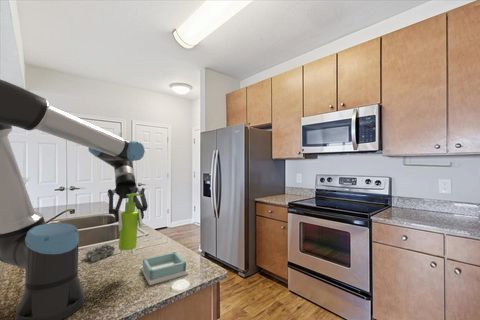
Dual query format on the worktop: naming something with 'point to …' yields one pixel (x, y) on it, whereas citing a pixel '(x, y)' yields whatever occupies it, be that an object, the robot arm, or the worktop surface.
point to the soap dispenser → (129, 225)
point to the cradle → (163, 268)
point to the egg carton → (99, 252)
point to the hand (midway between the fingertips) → (130, 227)
